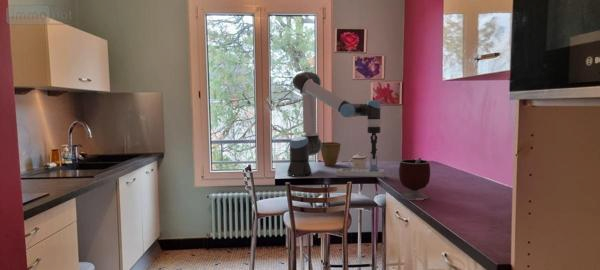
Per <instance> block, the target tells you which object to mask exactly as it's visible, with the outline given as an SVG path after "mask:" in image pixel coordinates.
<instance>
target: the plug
mask: <svg viewBox="0 0 600 270" xmlns="http://www.w3.org/2000/svg"><path fill="white" fill-rule="evenodd" d="M369 161H370V166H369V167H370V168H369V169H370V171H377V169H378V155H377V154H376V165H371V154H370V158H369Z"/></svg>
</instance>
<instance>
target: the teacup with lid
mask: <svg viewBox="0 0 600 270" xmlns="http://www.w3.org/2000/svg"><path fill="white" fill-rule="evenodd" d="M366 159H367V156H365V155H364V154H362V153H361V152H357V154H355V155H353V156H352V157H351V159H349V160H348V162H347V164H348V167H350V168H352V169H367V166H366V164H367V162H366V161H367V160H366ZM351 162H352V165H351V164H350V163H351Z"/></svg>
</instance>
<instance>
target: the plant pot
mask: <svg viewBox="0 0 600 270" xmlns="http://www.w3.org/2000/svg"><path fill="white" fill-rule="evenodd" d="M321 143H322V147H321V150H320V153H321V157H322V160H323V163H324V165H325V166H326V167H334V166H336V164H337V160H338V158H339V155H340V150H341V144H342V143H341V142H334V141H332V142H331V141H326V142H324V141H323V142H321Z"/></svg>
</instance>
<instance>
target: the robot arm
mask: <svg viewBox="0 0 600 270" xmlns="http://www.w3.org/2000/svg"><path fill="white" fill-rule="evenodd" d="M321 83H322V81H321V77H320V76H319V75H318V74H317V73H315V72H312V71H310V72H309V71H304V70H303V71H298V72H295V74H294V75H293V77H292V85H293V86H294V88H296V89H297V90H298V91H299V94H300V95H301V96H302V128H303V129H302V130H303V132H302V133H301V135H300V136H296V137H292V138H290V139H289V165H288V168H287V175H288V174H289V175H294V176H293V177H296V176H301V177H305V176H304V175H309V176H311V175H312V168H311V165H310V162H309V160H310V159H309V156H314V155H317V154H318V153H319V152H321V147H322V143H323V142H322V141H321V139H320V135H319V134H318V132H317V106H316V105H317V100H318V101H320V102H321V103H323V104H325V105H327V106H328V107H330V108H332V109H333V110H335V111H338V112H339V113H340V115H341V117H342V116H343V117H344V118H352V117H353V118H354V117H367V119H366V121H367V131H366V132H367V134H371V135H370V144H371V151H370V152H369V153H370V155H371V165H376V155H377V151H378V148H377V142H378V135H377V134H380V133H381V123H382V120H381V101H380V100H378V99H372V100H370V99H369V100H367V102H366V103H350V102H349V101H347V100H345V99H343V98H342V97H340V96H338V95H337V94H335V93H333V92H331V91H330V90H328V89H326V88H325V87H323V86H321ZM316 99H317V100H316ZM310 174H311V175H310ZM289 175H288V176H289Z"/></svg>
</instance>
